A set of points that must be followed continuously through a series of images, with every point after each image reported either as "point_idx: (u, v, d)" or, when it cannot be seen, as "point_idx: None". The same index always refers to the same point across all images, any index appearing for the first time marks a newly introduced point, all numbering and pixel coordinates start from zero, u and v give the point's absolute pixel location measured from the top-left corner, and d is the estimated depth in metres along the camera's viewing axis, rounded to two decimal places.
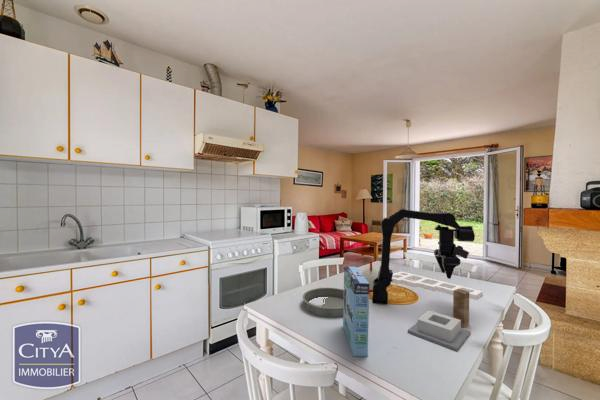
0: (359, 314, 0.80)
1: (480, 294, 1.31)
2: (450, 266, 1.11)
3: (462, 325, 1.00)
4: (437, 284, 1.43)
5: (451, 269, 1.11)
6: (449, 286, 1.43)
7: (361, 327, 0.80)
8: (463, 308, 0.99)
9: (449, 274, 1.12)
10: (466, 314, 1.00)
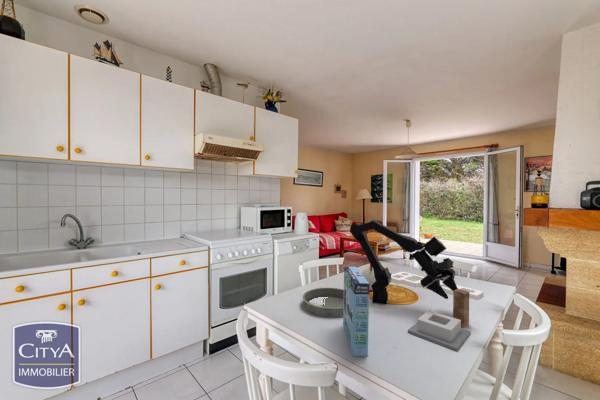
0: (359, 314, 0.80)
1: (481, 294, 1.30)
2: (436, 286, 1.04)
3: (462, 325, 1.00)
4: None
5: (438, 288, 1.03)
6: None
7: (361, 327, 0.80)
8: (463, 308, 0.99)
9: (442, 294, 1.03)
10: (466, 314, 1.00)
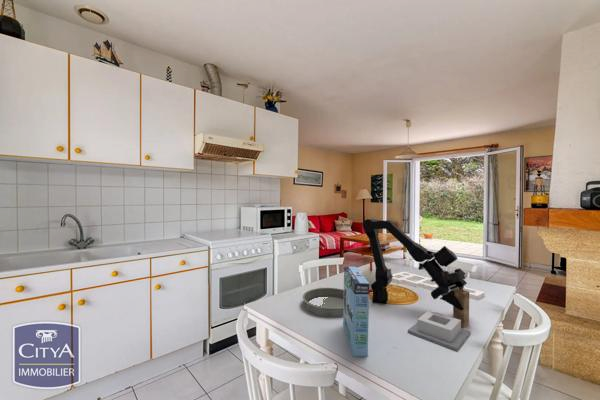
0: (359, 314, 0.80)
1: (482, 295, 1.30)
2: (450, 297, 1.02)
3: (462, 325, 1.00)
4: None
5: (453, 299, 1.01)
6: None
7: (361, 327, 0.80)
8: (463, 308, 0.99)
9: (456, 305, 1.00)
10: (466, 314, 1.00)
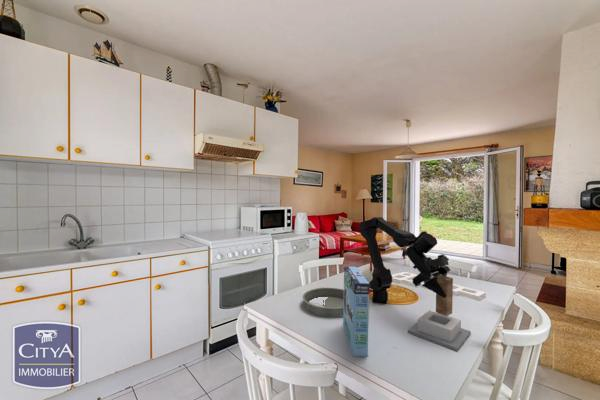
0: (359, 314, 0.80)
1: (483, 295, 1.29)
2: (433, 283, 0.96)
3: (445, 313, 0.94)
4: None
5: (436, 286, 0.95)
6: None
7: (361, 327, 0.80)
8: (446, 295, 0.94)
9: (439, 292, 0.95)
10: (449, 301, 0.94)
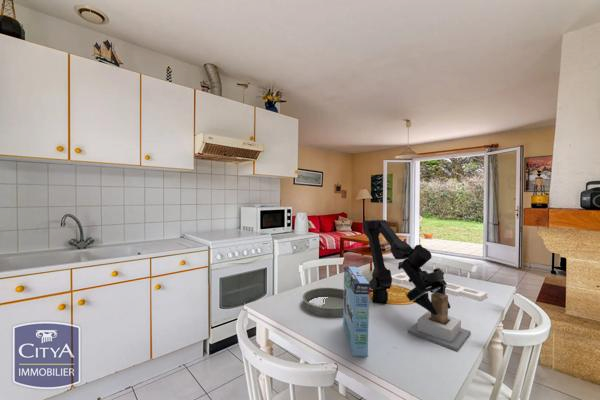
0: (359, 314, 0.80)
1: (485, 295, 1.29)
2: (424, 300, 0.93)
3: None
4: None
5: (427, 302, 0.93)
6: (453, 287, 1.42)
7: (361, 327, 0.80)
8: (441, 313, 0.92)
9: (430, 309, 0.92)
10: (444, 319, 0.93)
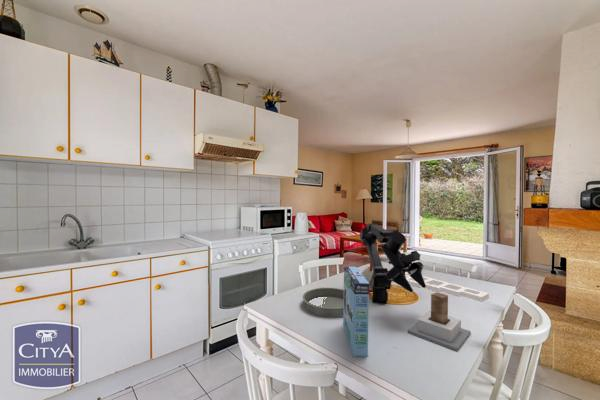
0: (359, 314, 0.80)
1: (486, 296, 1.28)
2: (401, 278, 1.01)
3: None
4: (442, 285, 1.41)
5: (404, 281, 1.00)
6: (455, 287, 1.41)
7: (361, 327, 0.80)
8: (441, 313, 0.92)
9: (406, 287, 1.00)
10: (444, 319, 0.93)
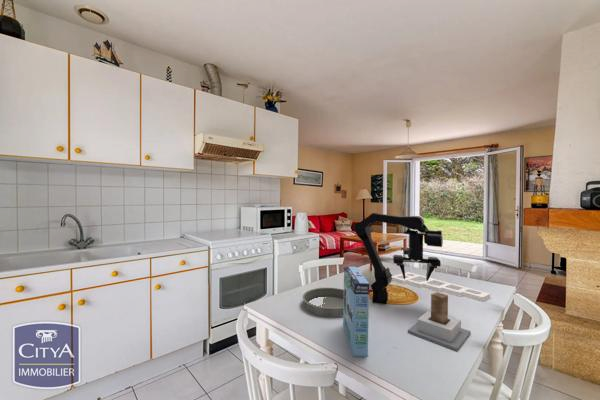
0: (359, 314, 0.80)
1: (487, 296, 1.28)
2: None
3: None
4: (443, 285, 1.41)
5: None
6: (456, 288, 1.41)
7: (361, 327, 0.80)
8: (441, 313, 0.92)
9: None
10: (444, 319, 0.93)
